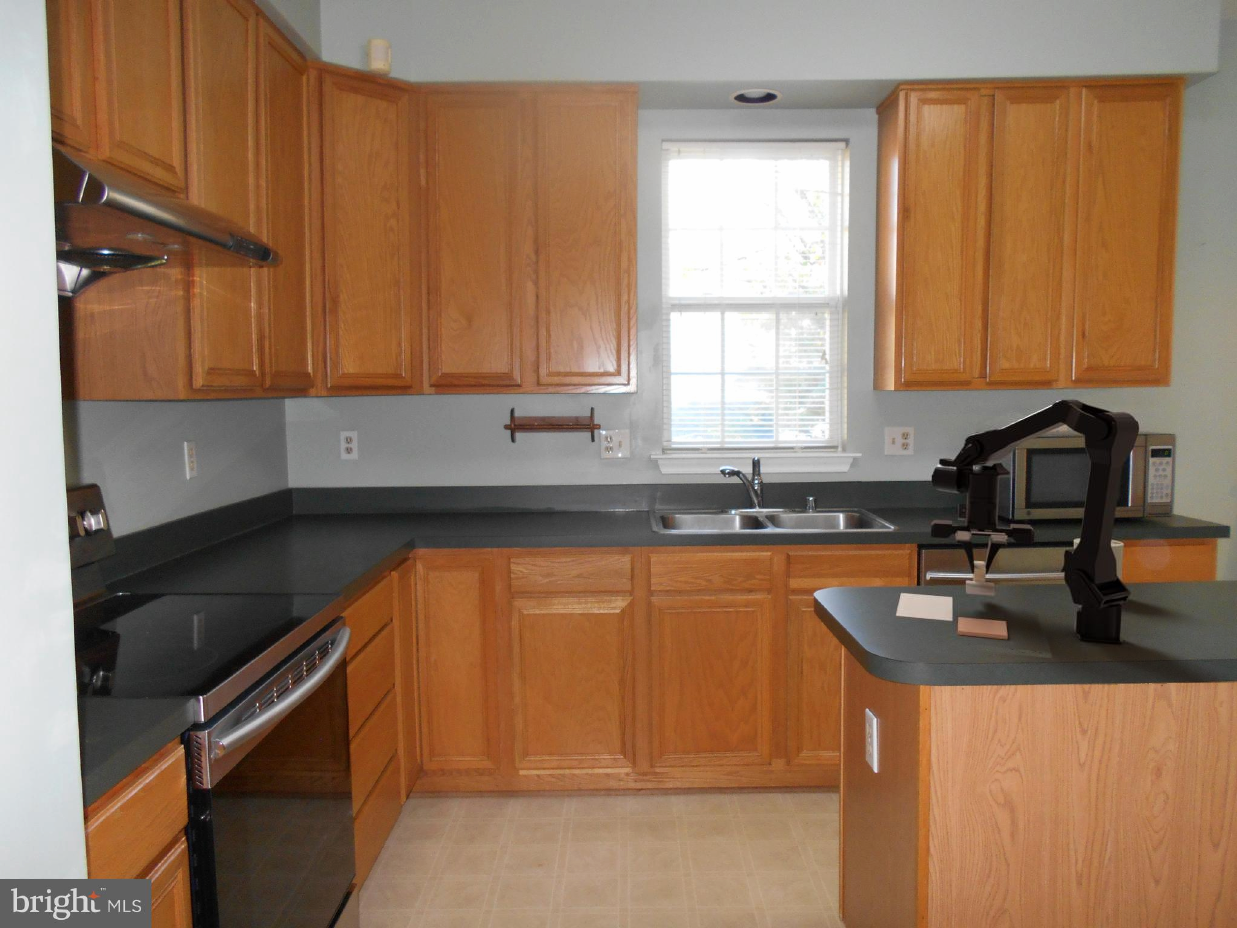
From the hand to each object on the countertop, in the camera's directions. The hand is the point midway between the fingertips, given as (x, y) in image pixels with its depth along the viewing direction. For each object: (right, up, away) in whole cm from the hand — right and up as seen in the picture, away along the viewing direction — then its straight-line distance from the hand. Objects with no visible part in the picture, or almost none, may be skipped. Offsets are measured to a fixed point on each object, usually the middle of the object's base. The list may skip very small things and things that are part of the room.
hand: (979, 573), depth 171 cm
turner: (-1, -2, -2) cm, 3 cm away
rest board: (-12, -7, -2) cm, 14 cm away
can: (+28, -6, +8) cm, 29 cm away
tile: (-5, -8, -14) cm, 17 cm away
